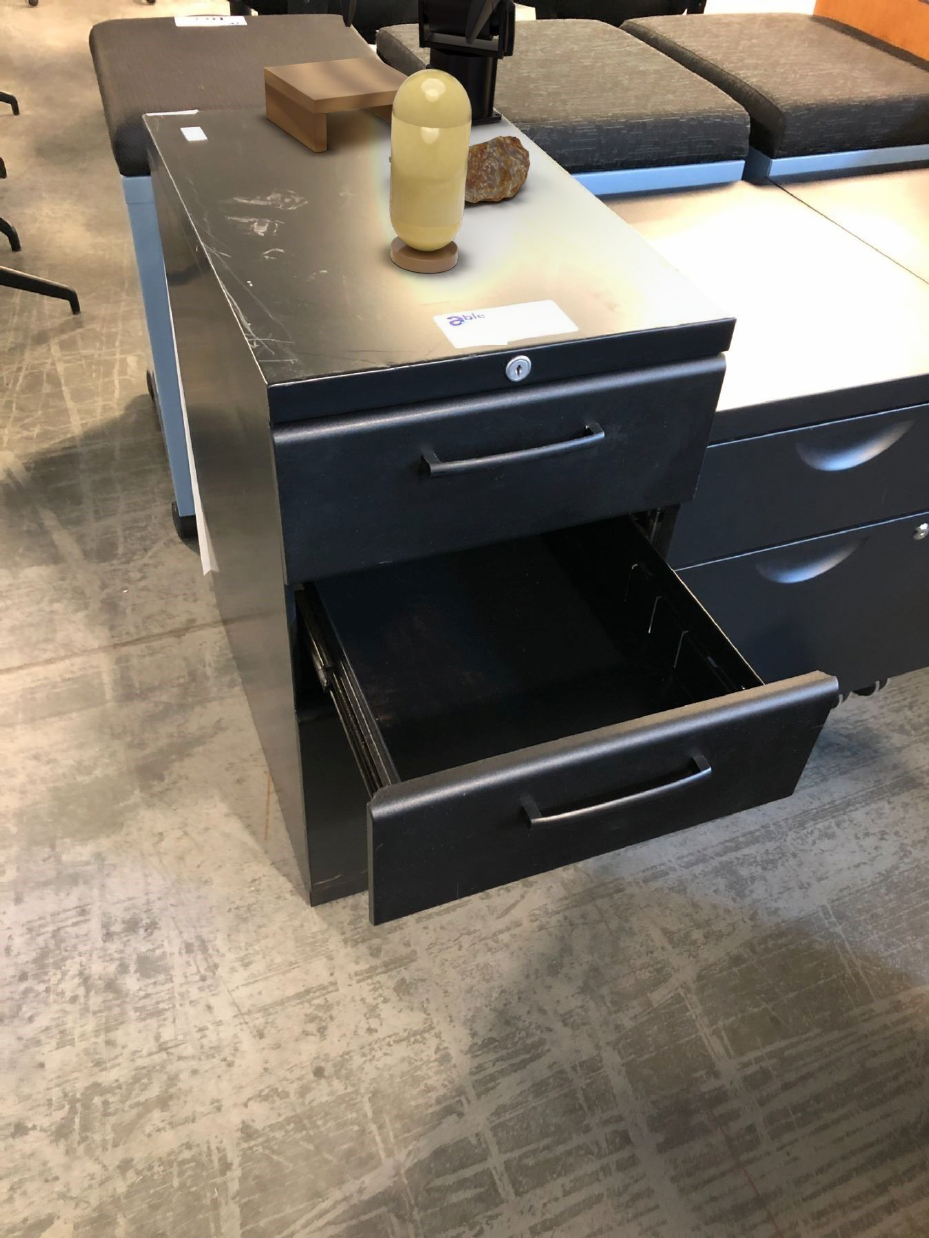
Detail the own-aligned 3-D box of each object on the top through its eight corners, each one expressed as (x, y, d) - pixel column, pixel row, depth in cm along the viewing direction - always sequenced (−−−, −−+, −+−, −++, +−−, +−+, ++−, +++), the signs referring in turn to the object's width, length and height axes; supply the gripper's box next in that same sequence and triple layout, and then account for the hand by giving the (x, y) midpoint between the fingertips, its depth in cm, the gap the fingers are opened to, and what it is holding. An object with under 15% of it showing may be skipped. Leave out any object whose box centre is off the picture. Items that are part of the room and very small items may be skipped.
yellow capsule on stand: (434, 238, 78) (445, 55, 69) (473, 266, 75) (491, 78, 66) (374, 250, 76) (377, 62, 66) (413, 280, 72) (422, 87, 63)
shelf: (371, 105, 100) (372, 56, 97) (424, 136, 95) (426, 86, 92) (266, 118, 95) (263, 67, 92) (315, 152, 89) (314, 100, 86)
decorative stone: (363, 126, 81) (479, 116, 90) (359, 181, 83) (472, 166, 93) (447, 159, 77) (559, 145, 86) (440, 216, 79) (549, 196, 89)
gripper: (289, -302, 63) (252, -52, 64) (574, -268, 61) (530, -14, 63) (328, -173, 74) (295, 37, 75) (570, -142, 73) (532, 71, 74)
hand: (407, 33), depth 71 cm, fingers open, 9 cm apart
